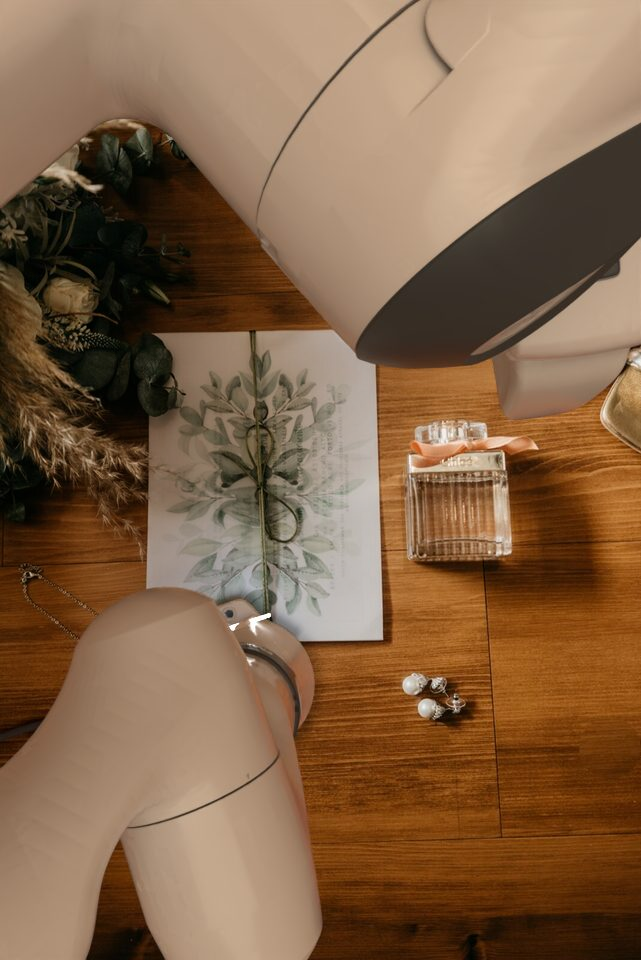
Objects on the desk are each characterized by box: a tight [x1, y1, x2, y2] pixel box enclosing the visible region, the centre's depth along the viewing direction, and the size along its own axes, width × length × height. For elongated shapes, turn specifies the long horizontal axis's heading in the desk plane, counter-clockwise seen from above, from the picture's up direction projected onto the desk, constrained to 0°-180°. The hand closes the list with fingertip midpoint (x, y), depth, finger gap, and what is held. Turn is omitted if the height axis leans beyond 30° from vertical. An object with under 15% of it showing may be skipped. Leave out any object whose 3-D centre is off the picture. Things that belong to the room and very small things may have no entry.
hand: (483, 269), depth 43 cm, fingers open, 8 cm apart
